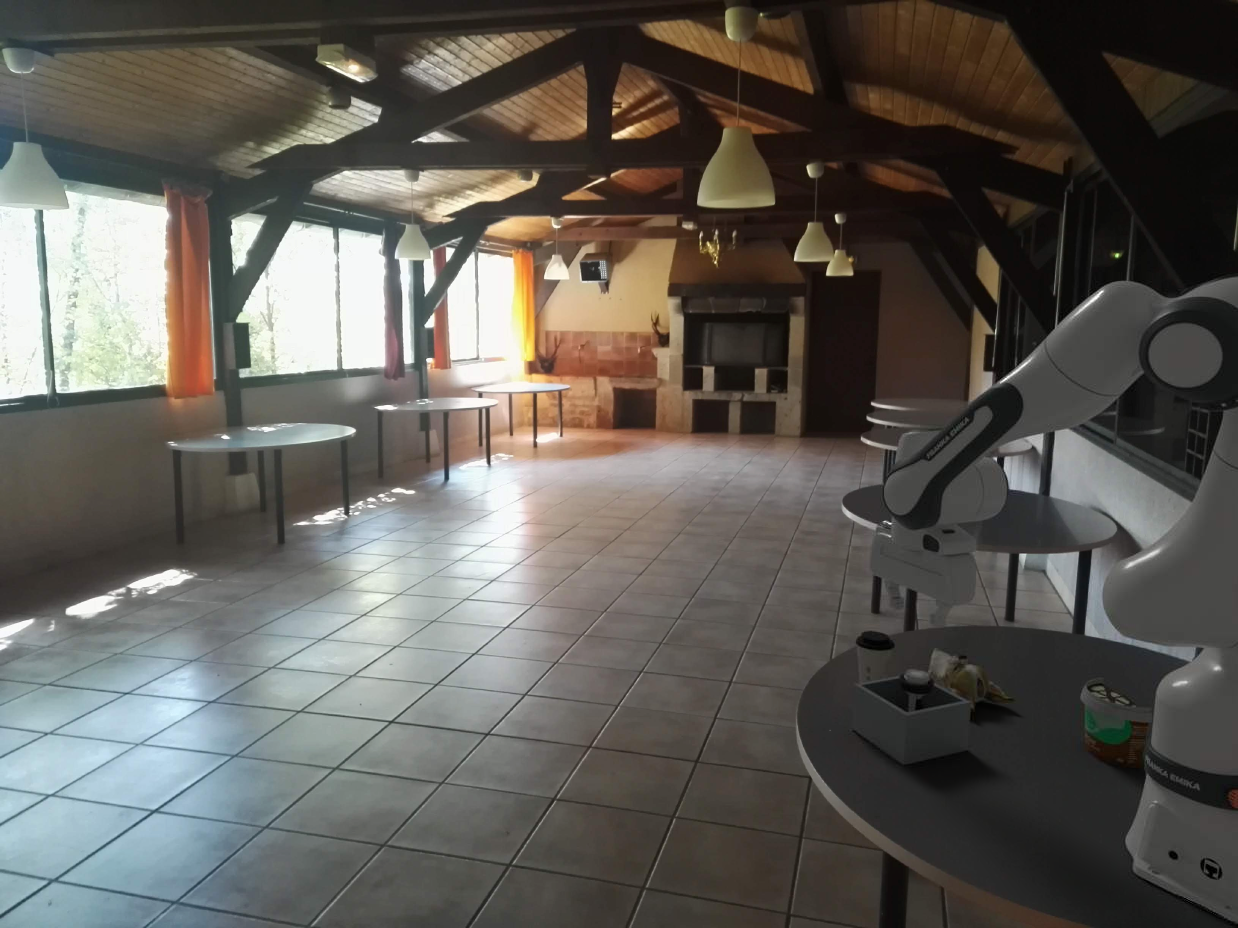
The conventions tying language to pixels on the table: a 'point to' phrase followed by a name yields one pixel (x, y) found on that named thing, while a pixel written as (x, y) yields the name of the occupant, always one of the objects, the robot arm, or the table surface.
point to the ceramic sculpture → (964, 679)
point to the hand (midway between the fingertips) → (916, 616)
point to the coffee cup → (874, 655)
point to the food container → (1114, 725)
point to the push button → (916, 687)
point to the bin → (910, 721)
